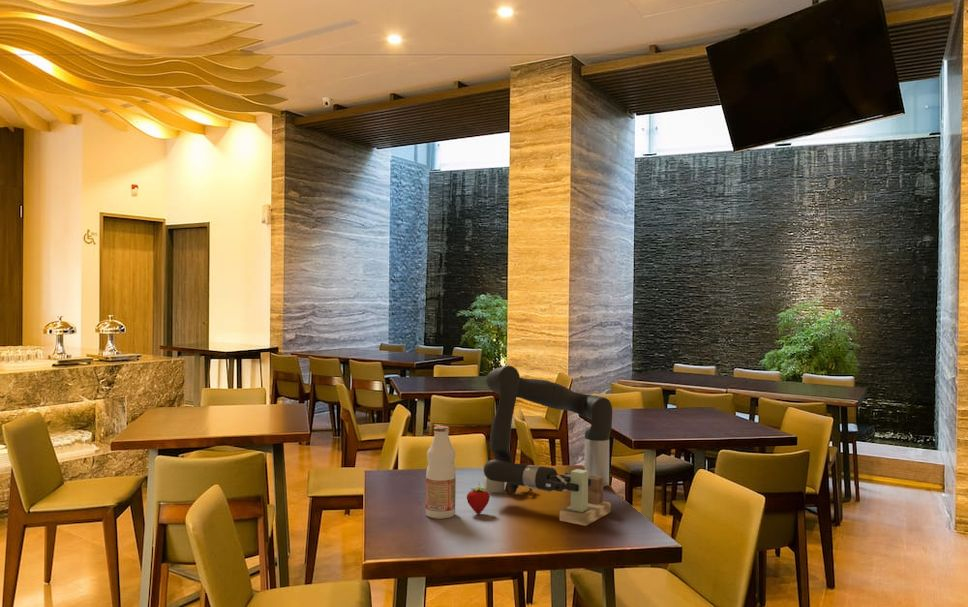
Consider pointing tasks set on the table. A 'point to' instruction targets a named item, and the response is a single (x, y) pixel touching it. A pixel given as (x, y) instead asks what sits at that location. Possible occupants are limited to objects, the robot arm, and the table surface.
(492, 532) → the table surface
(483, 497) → the strawberry
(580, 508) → the pillar
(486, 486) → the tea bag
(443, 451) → the fruit juice
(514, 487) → the pottery mug
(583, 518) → the base slab
